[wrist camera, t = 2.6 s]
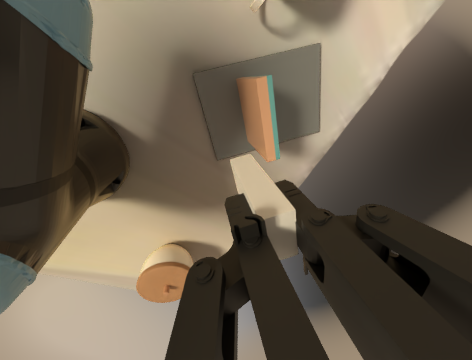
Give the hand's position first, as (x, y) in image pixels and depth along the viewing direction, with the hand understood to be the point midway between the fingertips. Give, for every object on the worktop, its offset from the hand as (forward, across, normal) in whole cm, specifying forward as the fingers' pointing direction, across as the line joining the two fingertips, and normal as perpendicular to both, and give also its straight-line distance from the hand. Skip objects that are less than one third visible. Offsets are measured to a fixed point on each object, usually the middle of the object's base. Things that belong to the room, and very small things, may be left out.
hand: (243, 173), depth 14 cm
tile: (+20, +6, 0) cm, 21 cm away
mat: (+21, +9, 0) cm, 22 cm away
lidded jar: (+21, -17, -26) cm, 37 cm away
